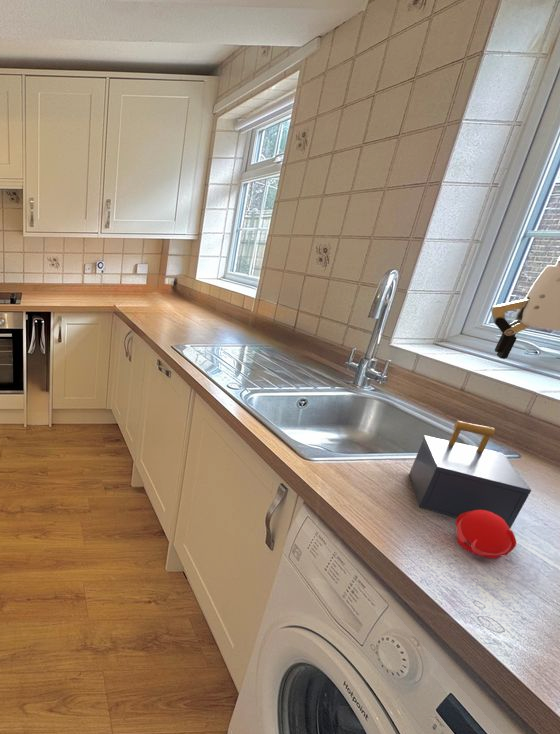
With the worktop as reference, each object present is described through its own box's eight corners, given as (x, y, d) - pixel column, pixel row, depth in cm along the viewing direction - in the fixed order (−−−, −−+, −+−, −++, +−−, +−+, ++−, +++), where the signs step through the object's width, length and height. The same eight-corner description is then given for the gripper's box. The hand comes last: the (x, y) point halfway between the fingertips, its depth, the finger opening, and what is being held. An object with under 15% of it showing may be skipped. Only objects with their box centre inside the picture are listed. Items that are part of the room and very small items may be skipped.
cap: (512, 573, 60) (531, 540, 57) (457, 555, 63) (473, 523, 60) (496, 541, 66) (512, 510, 64) (447, 526, 69) (461, 496, 67)
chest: (409, 473, 84) (422, 440, 81) (485, 493, 78) (503, 458, 75) (419, 507, 73) (435, 470, 71) (508, 533, 68) (529, 494, 65)
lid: (422, 438, 82) (433, 412, 80) (501, 456, 76) (515, 429, 74) (435, 470, 71) (448, 441, 69) (529, 494, 65) (546, 463, 63)
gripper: (673, 263, 61) (608, 370, 68) (511, 253, 71) (467, 348, 77) (704, 266, 56) (630, 382, 62) (523, 254, 65) (475, 356, 71)
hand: (540, 363), depth 70 cm, fingers open, 9 cm apart
